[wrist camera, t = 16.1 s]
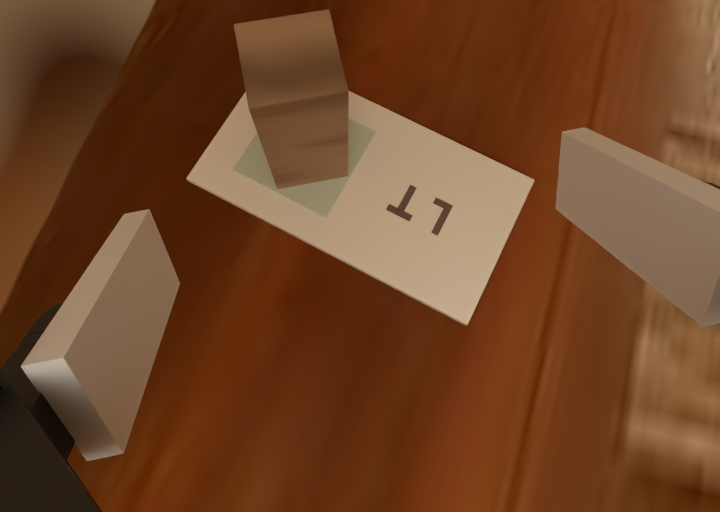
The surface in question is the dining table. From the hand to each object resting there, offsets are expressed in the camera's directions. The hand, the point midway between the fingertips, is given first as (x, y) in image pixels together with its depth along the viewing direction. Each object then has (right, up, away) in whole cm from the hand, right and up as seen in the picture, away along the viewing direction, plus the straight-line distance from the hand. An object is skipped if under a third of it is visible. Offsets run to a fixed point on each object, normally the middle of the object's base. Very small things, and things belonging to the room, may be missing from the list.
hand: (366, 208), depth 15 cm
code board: (0, +5, +25) cm, 26 cm away
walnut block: (-5, +7, +25) cm, 27 cm away
